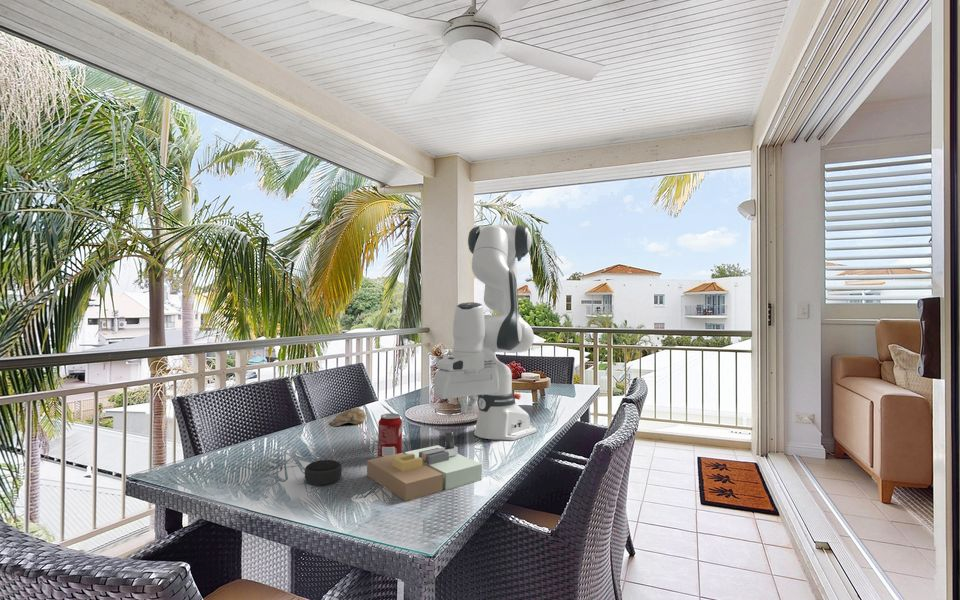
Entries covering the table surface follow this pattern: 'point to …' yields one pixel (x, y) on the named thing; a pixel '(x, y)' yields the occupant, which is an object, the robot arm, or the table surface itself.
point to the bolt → (448, 447)
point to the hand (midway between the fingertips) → (467, 412)
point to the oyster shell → (350, 417)
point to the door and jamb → (422, 472)
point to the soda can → (389, 435)
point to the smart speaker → (323, 472)
